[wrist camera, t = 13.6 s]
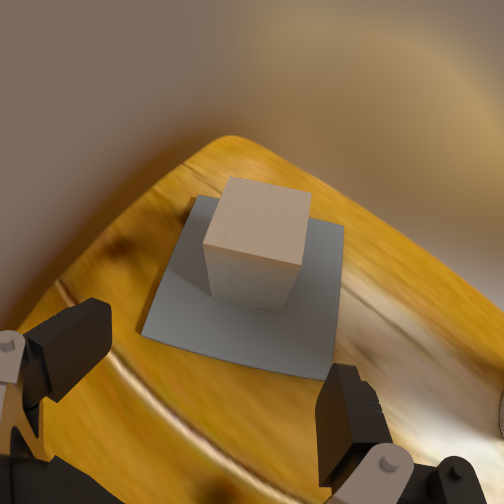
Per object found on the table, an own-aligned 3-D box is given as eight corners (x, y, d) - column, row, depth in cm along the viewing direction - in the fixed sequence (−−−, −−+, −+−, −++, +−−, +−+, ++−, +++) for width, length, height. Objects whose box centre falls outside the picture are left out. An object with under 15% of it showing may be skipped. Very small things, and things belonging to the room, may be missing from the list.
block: (291, 255, 27) (311, 193, 20) (280, 313, 24) (301, 265, 16) (230, 241, 27) (229, 176, 20) (212, 298, 24) (202, 243, 17)
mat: (342, 229, 30) (351, 211, 27) (326, 381, 21) (339, 376, 19) (199, 198, 31) (196, 178, 28) (142, 336, 22) (131, 326, 20)
